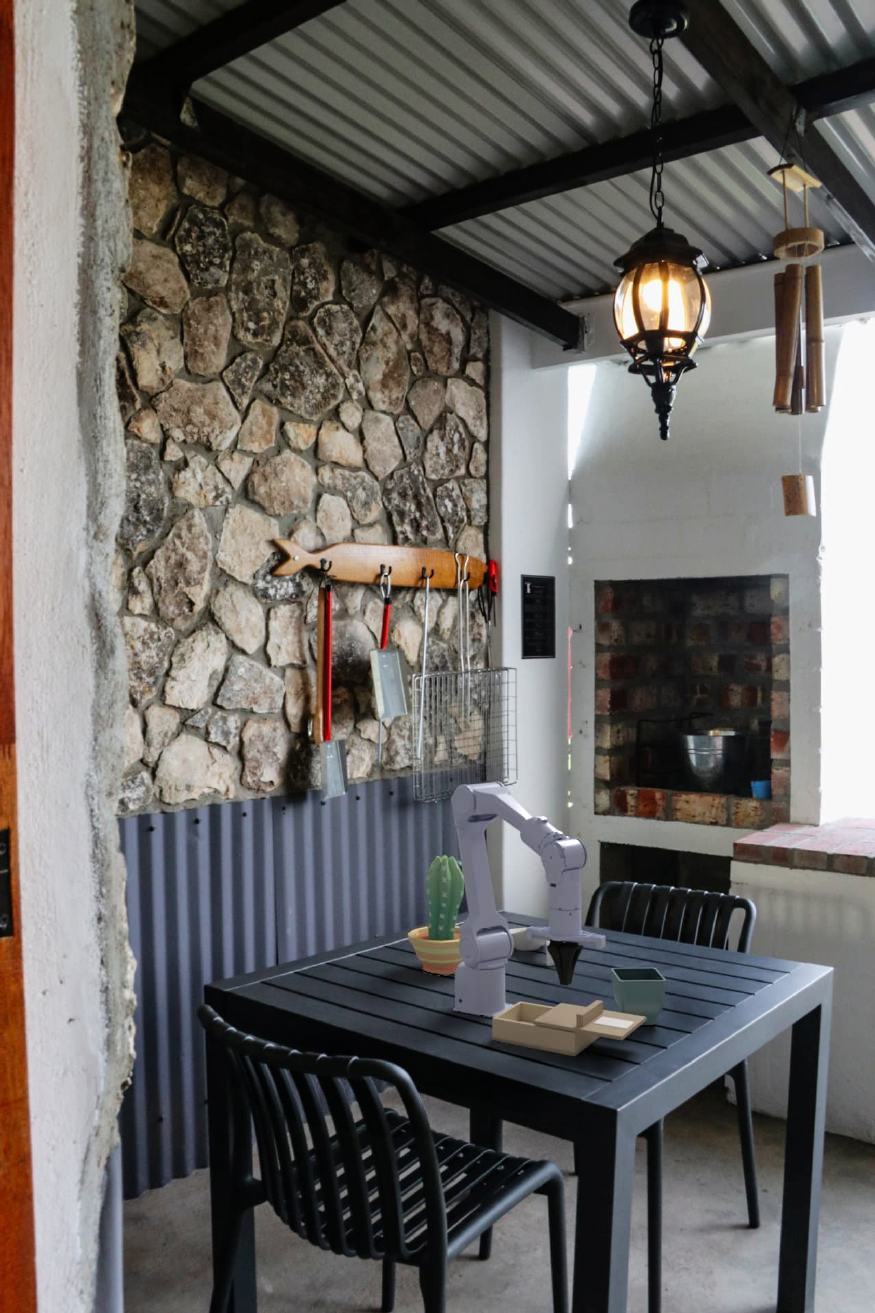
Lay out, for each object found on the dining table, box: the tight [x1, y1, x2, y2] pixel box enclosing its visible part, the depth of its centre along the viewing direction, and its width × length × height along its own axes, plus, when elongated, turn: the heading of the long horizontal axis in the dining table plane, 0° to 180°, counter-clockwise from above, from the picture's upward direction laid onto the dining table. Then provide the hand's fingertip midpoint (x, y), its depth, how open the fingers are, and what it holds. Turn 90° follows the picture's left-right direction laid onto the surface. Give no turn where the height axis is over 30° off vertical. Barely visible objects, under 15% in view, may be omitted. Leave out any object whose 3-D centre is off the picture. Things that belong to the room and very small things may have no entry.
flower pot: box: [610, 967, 667, 1026], centre depth 202 cm, size 9×9×9 cm
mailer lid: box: [533, 999, 646, 1041], centre depth 189 cm, size 16×12×3 cm
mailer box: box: [491, 1001, 601, 1057], centre depth 193 cm, size 16×11×4 cm
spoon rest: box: [509, 927, 555, 967], centre depth 252 cm, size 24×12×7 cm, turn 19°
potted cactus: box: [407, 854, 465, 975], centre depth 239 cm, size 15×15×25 cm
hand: (565, 983), depth 192 cm, fingers closed
